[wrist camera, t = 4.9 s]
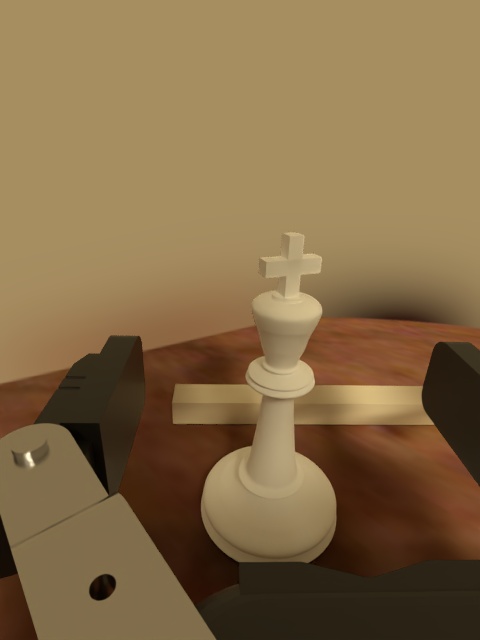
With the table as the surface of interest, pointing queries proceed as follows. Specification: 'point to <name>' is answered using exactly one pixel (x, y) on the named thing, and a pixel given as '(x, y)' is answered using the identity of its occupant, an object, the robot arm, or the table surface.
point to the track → (302, 405)
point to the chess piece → (275, 435)
